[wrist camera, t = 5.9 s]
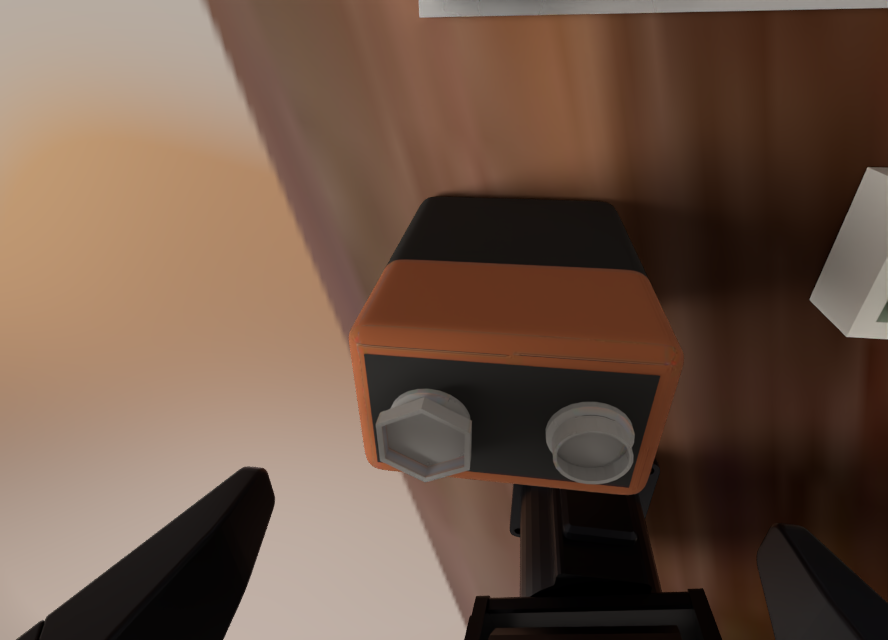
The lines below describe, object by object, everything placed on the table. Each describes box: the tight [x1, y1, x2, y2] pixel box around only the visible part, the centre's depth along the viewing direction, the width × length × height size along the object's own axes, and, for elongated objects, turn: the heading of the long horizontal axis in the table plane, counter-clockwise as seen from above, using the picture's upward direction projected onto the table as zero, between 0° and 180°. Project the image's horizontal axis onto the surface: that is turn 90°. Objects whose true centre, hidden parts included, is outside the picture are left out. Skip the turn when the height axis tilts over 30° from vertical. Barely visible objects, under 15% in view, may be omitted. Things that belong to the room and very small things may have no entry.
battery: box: [349, 197, 684, 495], centre depth 14 cm, size 4×7×10 cm, turn 91°
